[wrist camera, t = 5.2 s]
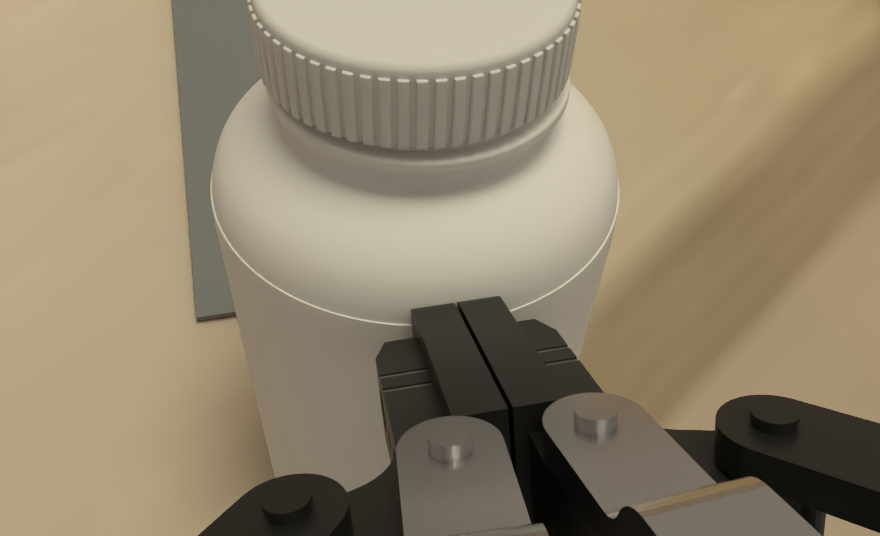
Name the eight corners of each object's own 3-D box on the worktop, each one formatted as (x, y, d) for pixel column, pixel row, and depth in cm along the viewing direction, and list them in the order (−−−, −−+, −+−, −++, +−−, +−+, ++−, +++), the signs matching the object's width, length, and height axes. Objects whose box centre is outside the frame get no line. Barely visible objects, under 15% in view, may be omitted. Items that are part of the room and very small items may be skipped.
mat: (549, 267, 28) (551, 263, 28) (197, 320, 26) (195, 317, 26) (447, -98, 35) (448, -104, 35) (167, -76, 33) (165, -81, 33)
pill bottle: (360, 653, 20) (299, 197, 9) (232, 416, 24) (88, -76, 13) (604, 495, 23) (782, 15, 12) (450, 312, 27) (477, -157, 16)
